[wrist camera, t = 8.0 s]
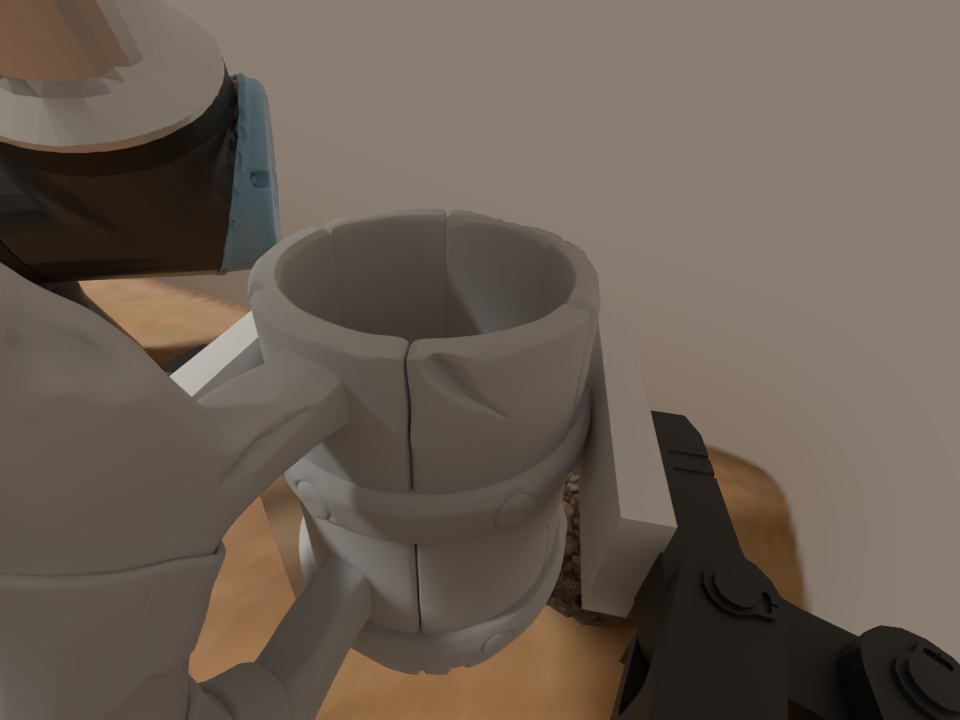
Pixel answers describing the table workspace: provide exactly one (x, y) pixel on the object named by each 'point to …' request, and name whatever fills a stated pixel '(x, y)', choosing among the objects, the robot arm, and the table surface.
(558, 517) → the mug
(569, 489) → the concrete sample
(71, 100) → the robot arm
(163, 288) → the table surface
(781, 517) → the table surface
